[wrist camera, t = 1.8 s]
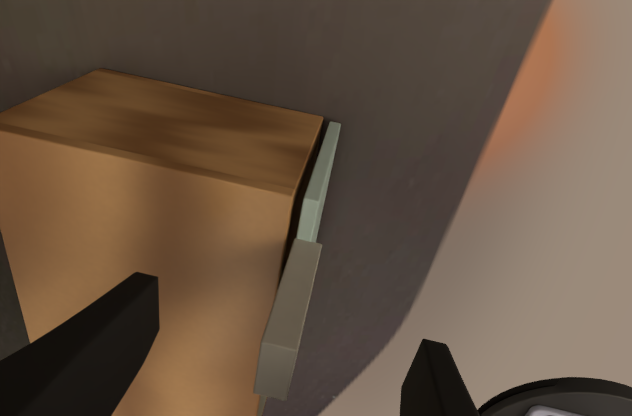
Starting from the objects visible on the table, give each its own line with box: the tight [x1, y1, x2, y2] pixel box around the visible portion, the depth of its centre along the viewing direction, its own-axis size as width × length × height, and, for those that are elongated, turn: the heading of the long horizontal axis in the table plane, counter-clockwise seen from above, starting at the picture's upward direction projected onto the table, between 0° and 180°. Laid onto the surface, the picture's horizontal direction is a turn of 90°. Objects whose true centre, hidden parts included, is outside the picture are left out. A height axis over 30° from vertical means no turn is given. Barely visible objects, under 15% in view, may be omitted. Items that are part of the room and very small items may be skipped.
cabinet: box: [0, 68, 323, 416], centre depth 21 cm, size 10×16×7 cm, turn 171°
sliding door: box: [253, 122, 341, 401], centre depth 16 cm, size 1×8×11 cm, turn 171°
